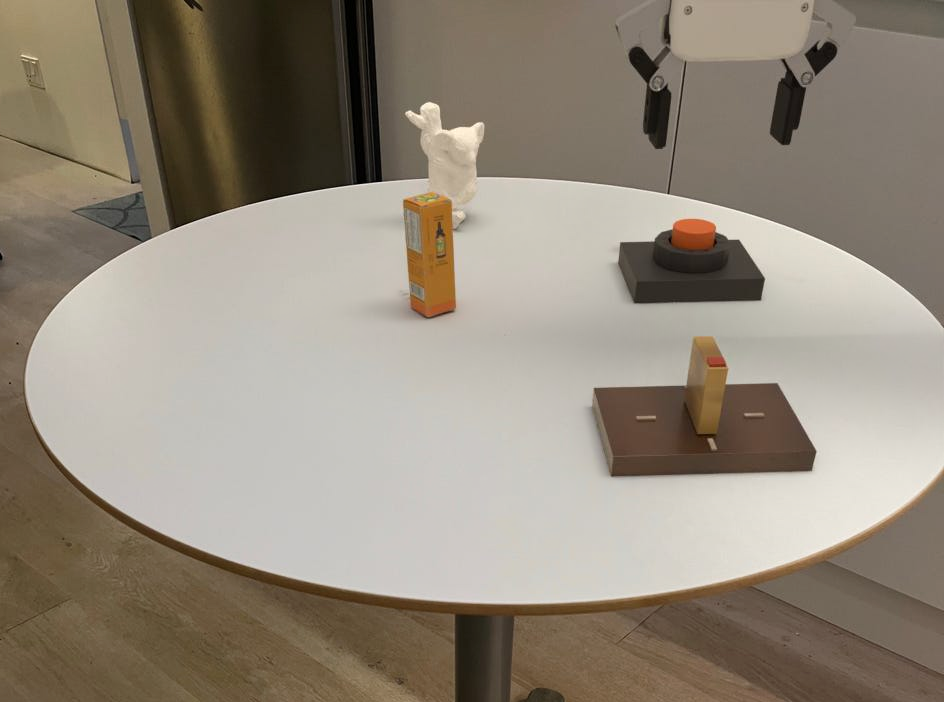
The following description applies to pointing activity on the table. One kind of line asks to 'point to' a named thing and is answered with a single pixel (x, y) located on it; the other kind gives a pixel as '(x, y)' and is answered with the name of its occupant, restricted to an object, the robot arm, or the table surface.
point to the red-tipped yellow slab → (705, 384)
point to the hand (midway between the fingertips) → (718, 142)
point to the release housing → (689, 271)
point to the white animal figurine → (449, 157)
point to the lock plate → (683, 450)
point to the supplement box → (430, 253)
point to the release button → (693, 234)
